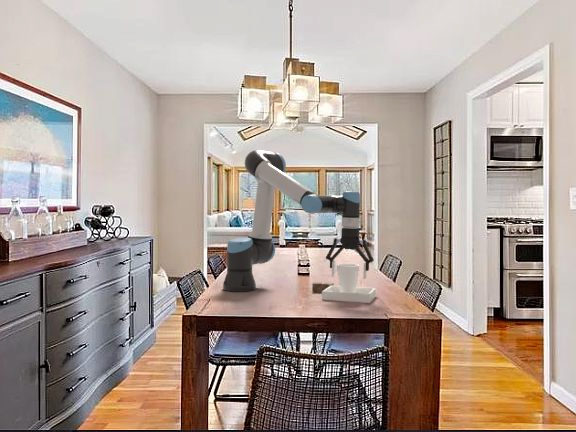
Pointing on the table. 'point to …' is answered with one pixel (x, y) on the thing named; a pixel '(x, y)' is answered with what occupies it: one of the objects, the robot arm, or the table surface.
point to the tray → (349, 294)
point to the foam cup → (348, 277)
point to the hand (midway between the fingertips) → (348, 277)
